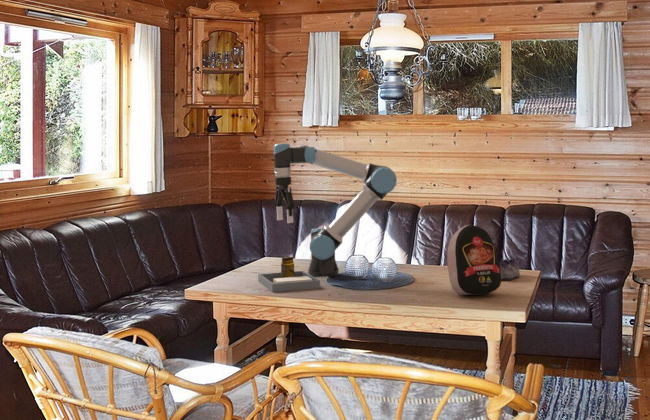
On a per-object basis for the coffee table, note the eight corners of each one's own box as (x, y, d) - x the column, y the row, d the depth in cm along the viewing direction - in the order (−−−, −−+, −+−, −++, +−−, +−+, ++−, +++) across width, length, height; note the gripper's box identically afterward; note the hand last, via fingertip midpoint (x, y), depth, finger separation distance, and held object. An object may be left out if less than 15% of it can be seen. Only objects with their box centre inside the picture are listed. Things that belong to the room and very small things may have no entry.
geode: (500, 273, 428) (503, 253, 427) (523, 278, 423) (526, 258, 421) (486, 279, 411) (489, 258, 410) (509, 284, 405) (513, 263, 404)
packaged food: (463, 301, 367) (464, 230, 364) (439, 292, 385) (439, 224, 382) (507, 296, 376) (508, 226, 372) (481, 288, 394) (482, 221, 390)
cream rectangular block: (307, 284, 402) (306, 276, 401) (312, 287, 394) (312, 279, 394) (273, 287, 397) (273, 278, 396) (277, 290, 389) (277, 281, 389)
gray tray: (303, 280, 418) (303, 270, 417) (320, 290, 393) (319, 280, 393) (258, 283, 411) (258, 274, 411) (272, 294, 387) (272, 284, 386)
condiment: (298, 283, 406) (297, 257, 404) (281, 285, 401) (281, 259, 400) (290, 280, 412) (289, 255, 411) (274, 282, 408) (273, 257, 406)
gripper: (266, 175, 422) (268, 219, 424) (284, 178, 399) (287, 224, 401) (281, 174, 425) (283, 218, 427) (300, 177, 402) (302, 223, 404)
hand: (285, 221), depth 414 cm, fingers open, 13 cm apart
